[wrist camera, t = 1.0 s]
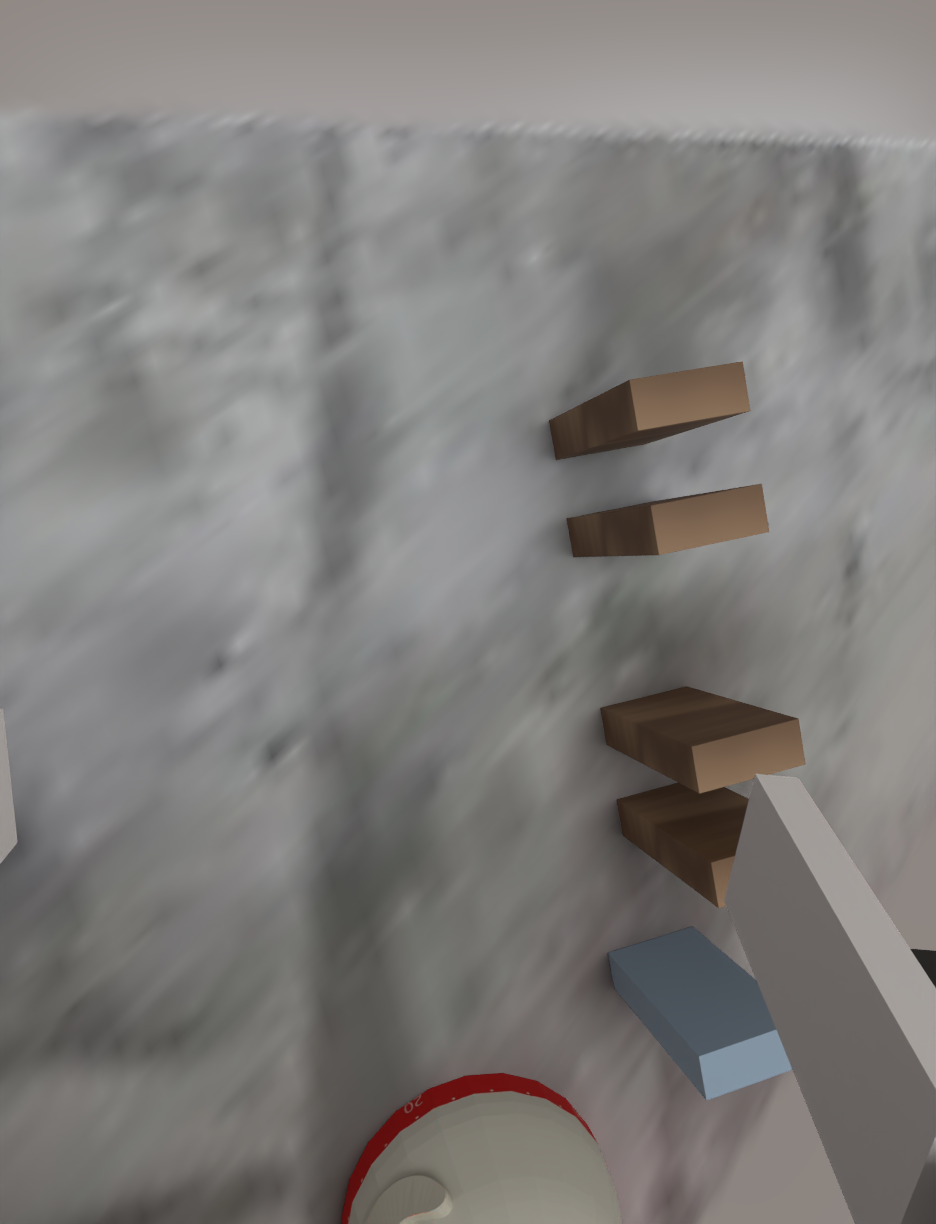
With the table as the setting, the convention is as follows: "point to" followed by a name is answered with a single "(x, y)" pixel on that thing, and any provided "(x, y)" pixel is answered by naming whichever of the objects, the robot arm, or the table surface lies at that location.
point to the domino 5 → (700, 1010)
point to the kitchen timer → (483, 1160)
